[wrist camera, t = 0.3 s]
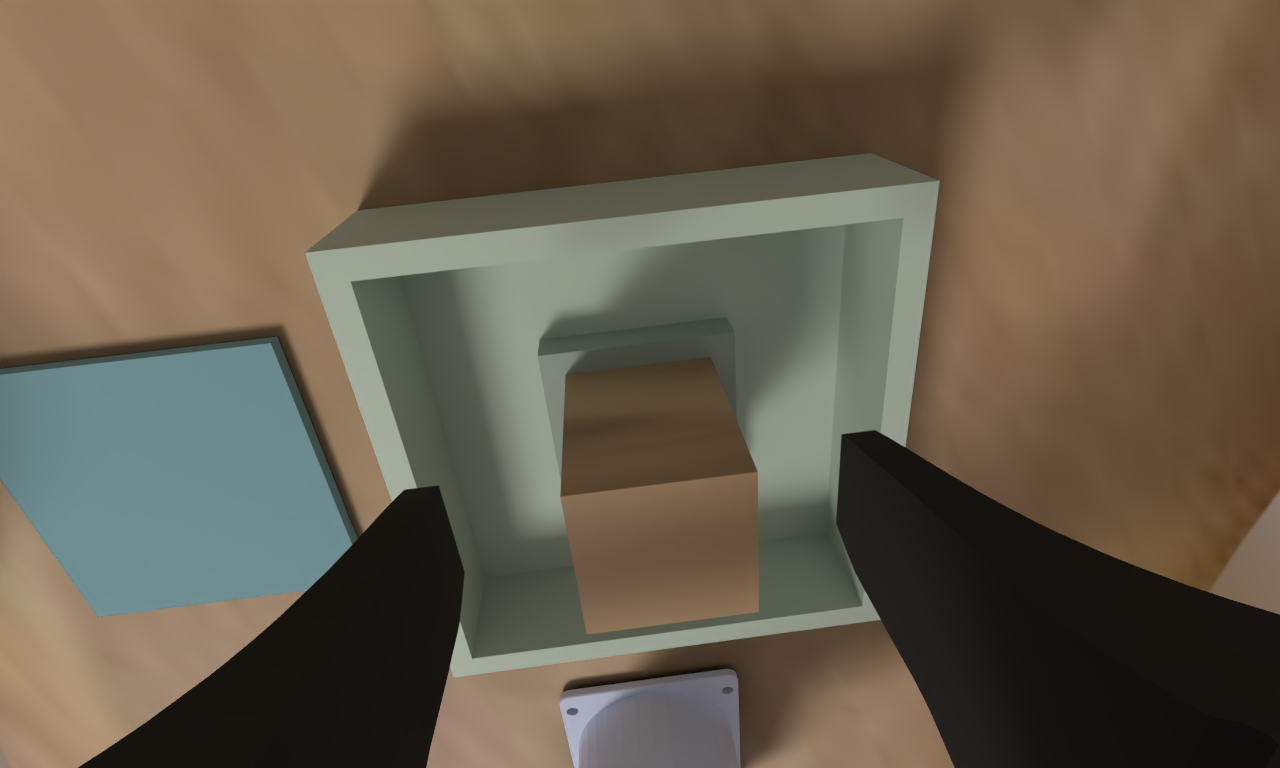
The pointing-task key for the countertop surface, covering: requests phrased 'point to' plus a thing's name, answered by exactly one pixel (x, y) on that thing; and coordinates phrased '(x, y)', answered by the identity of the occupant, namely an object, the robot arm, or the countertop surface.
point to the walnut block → (658, 497)
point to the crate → (625, 337)
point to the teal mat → (172, 475)
